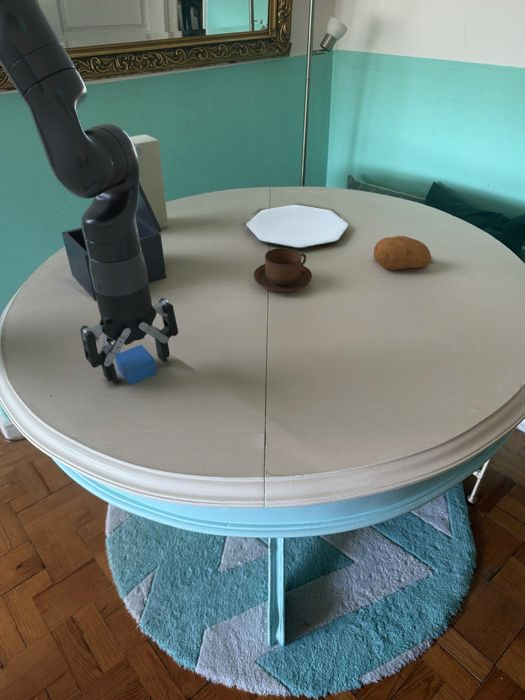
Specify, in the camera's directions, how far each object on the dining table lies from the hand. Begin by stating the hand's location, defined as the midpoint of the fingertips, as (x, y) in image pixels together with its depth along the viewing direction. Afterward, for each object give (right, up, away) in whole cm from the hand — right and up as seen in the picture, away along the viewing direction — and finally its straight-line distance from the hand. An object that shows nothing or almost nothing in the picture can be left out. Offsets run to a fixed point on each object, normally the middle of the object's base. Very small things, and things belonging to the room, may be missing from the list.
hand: (138, 369), depth 82 cm
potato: (+50, +21, +31) cm, 63 cm away
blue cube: (0, -2, +1) cm, 2 cm away
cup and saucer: (+24, +17, +26) cm, 39 cm away
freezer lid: (-7, +35, +19) cm, 41 cm away
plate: (+28, +33, +47) cm, 64 cm away
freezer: (-11, +19, +28) cm, 35 cm away
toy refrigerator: (-9, +34, +49) cm, 61 cm away
